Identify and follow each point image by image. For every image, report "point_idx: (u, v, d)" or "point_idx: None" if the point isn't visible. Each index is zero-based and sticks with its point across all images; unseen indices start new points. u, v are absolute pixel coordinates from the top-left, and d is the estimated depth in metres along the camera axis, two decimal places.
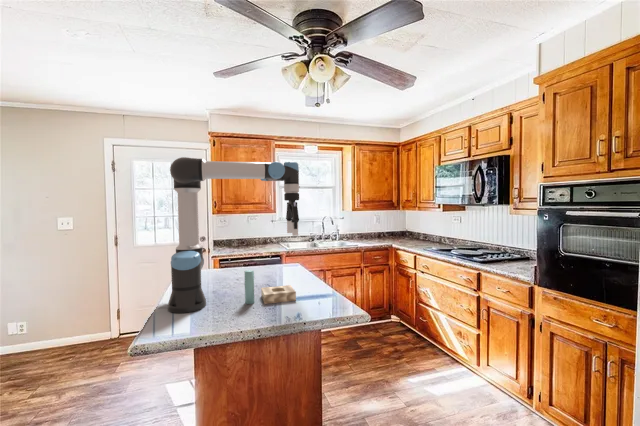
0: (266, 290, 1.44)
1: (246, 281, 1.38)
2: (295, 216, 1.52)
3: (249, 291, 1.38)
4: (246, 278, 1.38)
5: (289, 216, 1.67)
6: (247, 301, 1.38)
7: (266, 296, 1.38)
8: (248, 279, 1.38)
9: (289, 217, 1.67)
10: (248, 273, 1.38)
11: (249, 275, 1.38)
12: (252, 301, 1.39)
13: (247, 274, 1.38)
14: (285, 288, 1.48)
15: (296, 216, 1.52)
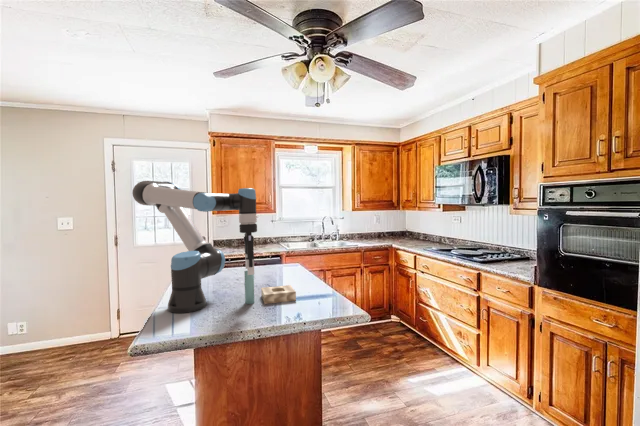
0: (266, 290, 1.44)
1: (246, 281, 1.38)
2: (249, 253, 1.30)
3: (249, 291, 1.38)
4: (246, 278, 1.38)
5: None
6: (247, 301, 1.38)
7: (266, 296, 1.38)
8: (248, 279, 1.38)
9: None
10: None
11: (249, 275, 1.38)
12: (252, 301, 1.39)
13: (247, 274, 1.38)
14: (285, 288, 1.48)
15: (251, 253, 1.31)
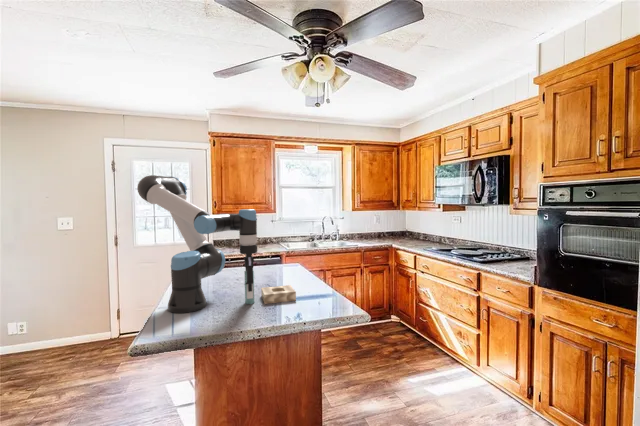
0: (266, 290, 1.44)
1: (246, 281, 1.38)
2: (249, 278, 1.34)
3: None
4: (246, 278, 1.38)
5: None
6: (247, 301, 1.38)
7: (266, 296, 1.38)
8: None
9: None
10: None
11: None
12: (252, 301, 1.39)
13: None
14: (285, 288, 1.48)
15: (250, 278, 1.35)
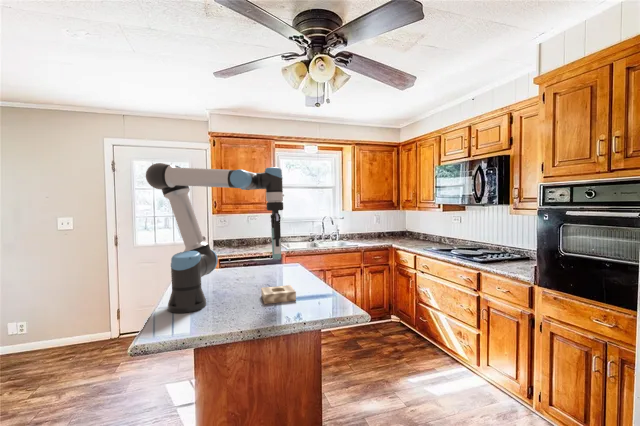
0: (266, 290, 1.44)
1: (273, 237, 1.43)
2: (277, 233, 1.39)
3: None
4: (273, 234, 1.43)
5: None
6: (274, 256, 1.43)
7: (266, 296, 1.38)
8: None
9: None
10: None
11: None
12: (279, 256, 1.44)
13: None
14: (285, 288, 1.48)
15: (278, 233, 1.39)
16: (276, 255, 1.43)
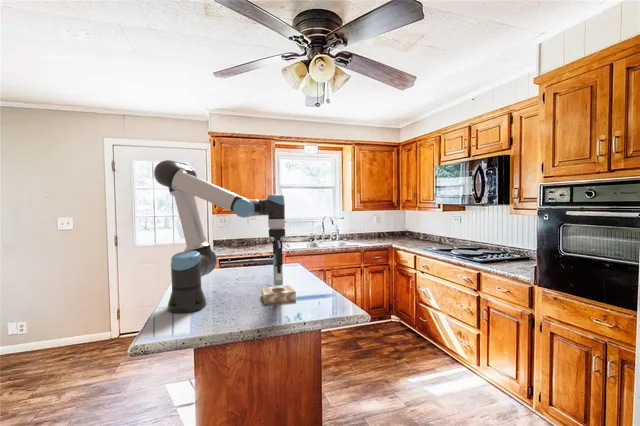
0: (266, 290, 1.44)
1: (275, 263, 1.44)
2: (278, 260, 1.40)
3: None
4: (275, 260, 1.44)
5: None
6: (276, 283, 1.44)
7: (266, 296, 1.38)
8: None
9: None
10: None
11: None
12: (281, 283, 1.44)
13: None
14: (285, 288, 1.48)
15: (280, 260, 1.40)
16: (278, 281, 1.44)
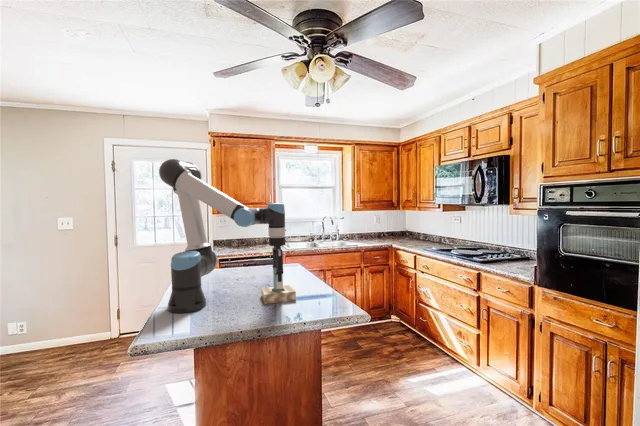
0: (266, 290, 1.44)
1: (275, 277, 1.44)
2: (279, 268, 1.38)
3: None
4: (275, 275, 1.44)
5: (275, 264, 1.49)
6: None
7: (266, 296, 1.38)
8: None
9: (275, 265, 1.49)
10: None
11: None
12: None
13: None
14: (285, 288, 1.48)
15: (280, 268, 1.39)
16: None
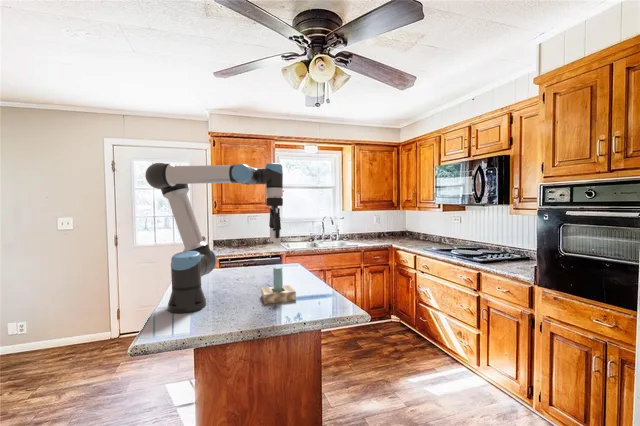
0: (266, 290, 1.44)
1: (275, 277, 1.44)
2: (277, 224, 1.36)
3: (278, 287, 1.44)
4: (275, 275, 1.44)
5: (272, 223, 1.51)
6: None
7: (266, 296, 1.38)
8: (277, 275, 1.44)
9: (272, 224, 1.51)
10: (277, 270, 1.44)
11: (278, 271, 1.44)
12: None
13: (276, 270, 1.44)
14: (285, 288, 1.48)
15: (278, 224, 1.36)
16: None
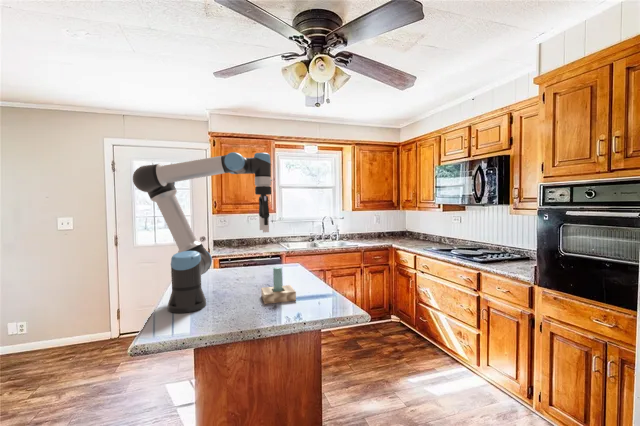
0: (266, 290, 1.44)
1: (275, 277, 1.44)
2: (265, 211, 1.41)
3: (278, 287, 1.44)
4: (275, 275, 1.44)
5: (261, 212, 1.55)
6: None
7: (266, 296, 1.38)
8: (277, 276, 1.44)
9: (261, 213, 1.56)
10: (277, 270, 1.44)
11: (278, 271, 1.44)
12: None
13: (276, 270, 1.44)
14: (285, 288, 1.48)
15: (266, 211, 1.41)
16: None
